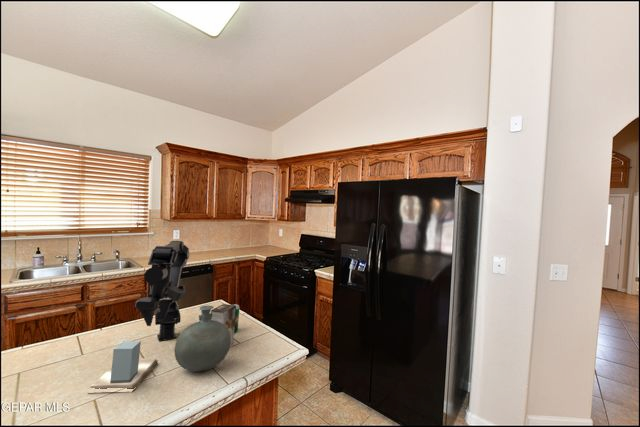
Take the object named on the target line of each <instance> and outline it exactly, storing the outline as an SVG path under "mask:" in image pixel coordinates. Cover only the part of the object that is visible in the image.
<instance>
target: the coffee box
mask: <svg viewBox="0 0 640 427" xmlns="http://www.w3.org/2000/svg"><path fill="white" fill-rule="evenodd" d="M236 305H237V304H228V303H227V304H226V303H222V304H220V305H219V306H217V307H215V308H212V309H211V311H210V313H212V319H211V320H214V321H219V322H221V323H223V324H224V325H225V326H226V327H227V328H228V330H229V333H230V337H231V344H230V346H231V345H232V344H233V343H234V340H235V338H234V337H235V333H234V328H235V314H236Z"/></svg>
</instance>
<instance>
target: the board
mask: <svg viewBox="0 0 640 427" xmlns="http://www.w3.org/2000/svg"><path fill="white" fill-rule="evenodd" d="M158 363H159V362H158V359H157V358H139V364H138V373H137V374H136V375H135V376H134V378H133V379H132V380H131V381H130V382H129V383H110V380H111V370H112V367H111V368H110V369H108V370H107V371H106V372H105V373H104V374H103V375H101V377H99V378H98V379H97V380H96V381H95V382H93V383H92V384H91V385H90V387H89V388H95V389H99V388H100V389H107V388H127V389H134V388H135V387H136V386H137V385H138V386H139V385H140V384H141V383H142V382H143V381H144V380H145V379H146V377H147V376H148V375H149V374H150V373H151V372H152V371H153V369H154V368H156V366H157V365H158ZM143 379H144V380H143ZM142 380H143V381H142ZM141 381H142V382H141ZM140 382H141V383H140ZM139 383H140V384H139ZM138 386H137V387H138Z"/></svg>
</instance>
